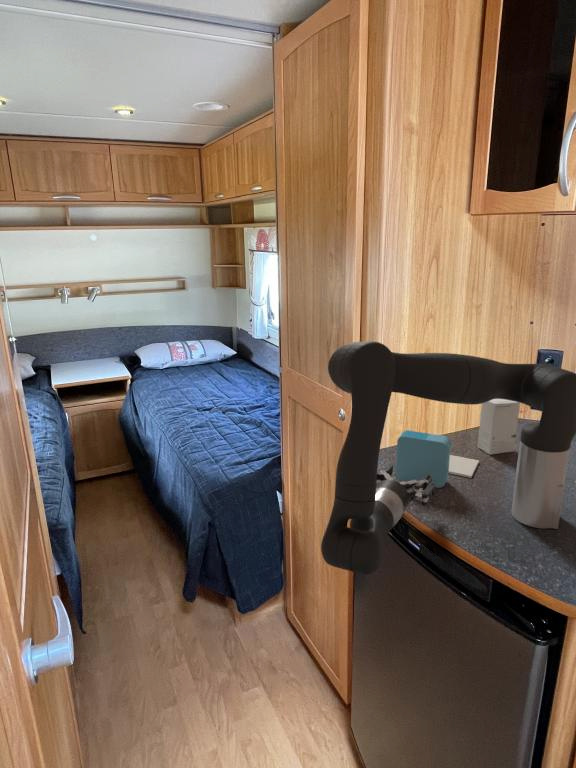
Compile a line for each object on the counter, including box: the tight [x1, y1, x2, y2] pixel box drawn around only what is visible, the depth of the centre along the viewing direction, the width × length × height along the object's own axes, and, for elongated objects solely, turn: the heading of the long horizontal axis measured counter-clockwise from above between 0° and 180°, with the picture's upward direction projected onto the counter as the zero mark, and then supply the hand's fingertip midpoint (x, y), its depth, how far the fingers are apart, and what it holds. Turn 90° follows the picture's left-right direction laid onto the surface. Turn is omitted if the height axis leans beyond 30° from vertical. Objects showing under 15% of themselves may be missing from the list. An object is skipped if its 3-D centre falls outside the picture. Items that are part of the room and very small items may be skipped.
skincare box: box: [477, 399, 521, 456], centre depth 139 cm, size 8×6×15 cm
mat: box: [448, 454, 480, 479], centre depth 132 cm, size 14×10×1 cm
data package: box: [395, 429, 452, 489], centre depth 122 cm, size 12×4×12 cm, turn 63°
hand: (409, 472), depth 113 cm, fingers open, 8 cm apart
